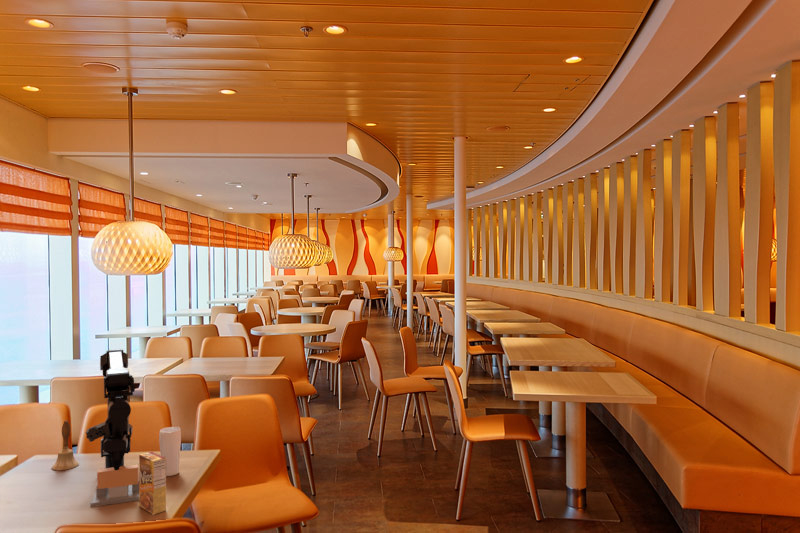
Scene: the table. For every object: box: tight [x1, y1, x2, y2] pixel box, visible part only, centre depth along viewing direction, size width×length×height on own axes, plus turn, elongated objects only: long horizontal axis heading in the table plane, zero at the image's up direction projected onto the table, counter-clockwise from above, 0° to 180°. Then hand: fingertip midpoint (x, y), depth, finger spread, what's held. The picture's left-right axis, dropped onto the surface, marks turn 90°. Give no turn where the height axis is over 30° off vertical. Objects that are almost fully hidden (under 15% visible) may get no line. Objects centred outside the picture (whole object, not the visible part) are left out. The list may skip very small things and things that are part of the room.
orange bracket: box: [96, 464, 139, 489], centre depth 175 cm, size 8×11×5 cm
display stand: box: [90, 482, 139, 508], centre depth 175 cm, size 12×14×4 cm
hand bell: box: [51, 420, 80, 471], centre depth 200 cm, size 8×8×16 cm
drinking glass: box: [158, 426, 182, 477], centre depth 193 cm, size 7×7×15 cm
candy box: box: [138, 451, 167, 516], centre depth 165 cm, size 9×4×15 cm, turn 50°
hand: (118, 464), depth 173 cm, fingers open, 9 cm apart
